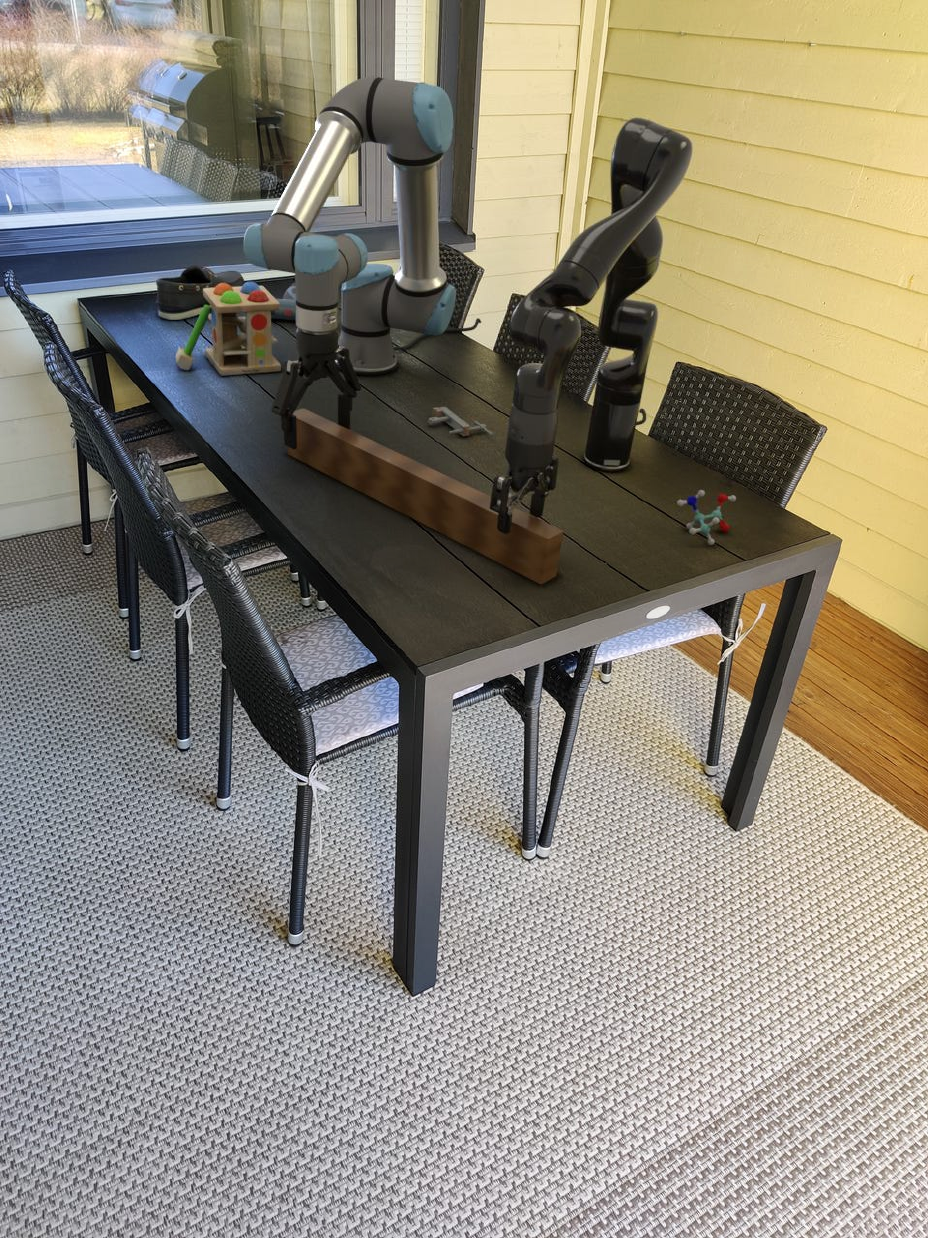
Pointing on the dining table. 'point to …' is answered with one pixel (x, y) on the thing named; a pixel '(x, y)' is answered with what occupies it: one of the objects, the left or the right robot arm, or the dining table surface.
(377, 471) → the bar
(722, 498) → the molecular model
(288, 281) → the dining table surface
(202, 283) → the boat shoe
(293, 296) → the power drill
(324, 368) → the left robot arm
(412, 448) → the dining table surface
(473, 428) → the clamp
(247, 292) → the pounding bench toy
